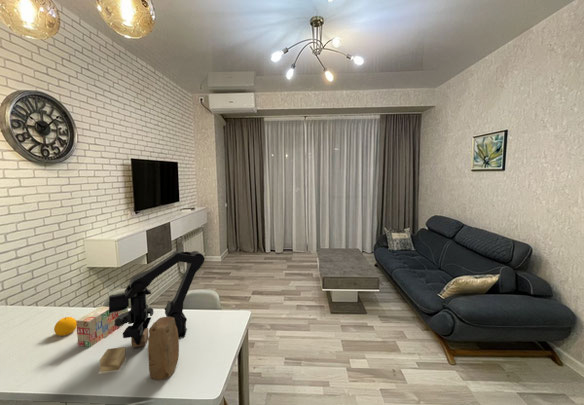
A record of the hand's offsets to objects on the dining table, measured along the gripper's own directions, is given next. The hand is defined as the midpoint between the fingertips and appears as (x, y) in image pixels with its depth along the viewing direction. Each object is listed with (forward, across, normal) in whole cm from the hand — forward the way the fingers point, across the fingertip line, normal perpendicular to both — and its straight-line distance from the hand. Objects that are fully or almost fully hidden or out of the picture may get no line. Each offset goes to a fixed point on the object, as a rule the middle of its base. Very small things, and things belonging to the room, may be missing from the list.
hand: (140, 340), depth 110 cm
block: (+3, +18, +14) cm, 23 cm away
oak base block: (+2, +11, -6) cm, 13 cm away
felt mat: (+3, +9, -4) cm, 10 cm away
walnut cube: (+1, 0, 0) cm, 1 cm away
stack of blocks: (+3, -14, -19) cm, 24 cm away
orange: (+3, -18, -37) cm, 41 cm away
